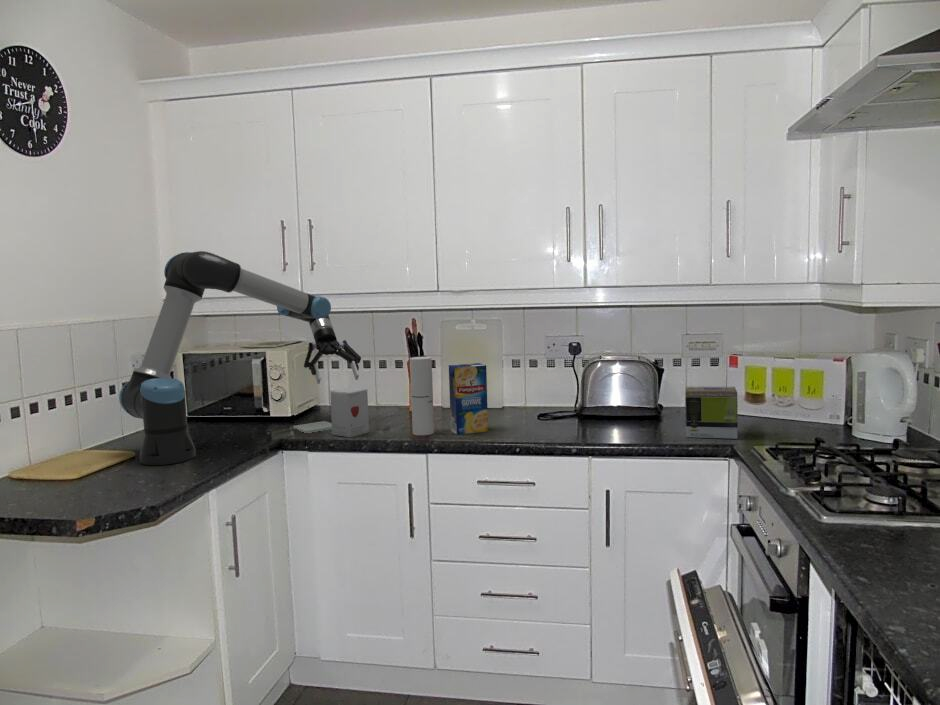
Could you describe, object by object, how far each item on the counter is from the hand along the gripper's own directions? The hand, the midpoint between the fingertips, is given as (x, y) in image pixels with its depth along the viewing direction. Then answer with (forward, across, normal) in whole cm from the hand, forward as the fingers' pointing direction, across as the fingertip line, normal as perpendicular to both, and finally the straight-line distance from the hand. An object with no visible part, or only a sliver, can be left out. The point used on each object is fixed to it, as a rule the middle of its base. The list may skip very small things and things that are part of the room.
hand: (338, 379), depth 235 cm
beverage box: (+34, -34, +9) cm, 49 cm away
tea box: (+68, -93, +44) cm, 123 cm away
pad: (+9, +8, -15) cm, 19 cm away
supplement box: (+20, 0, -5) cm, 20 cm away
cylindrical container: (+29, -20, +5) cm, 36 cm away
